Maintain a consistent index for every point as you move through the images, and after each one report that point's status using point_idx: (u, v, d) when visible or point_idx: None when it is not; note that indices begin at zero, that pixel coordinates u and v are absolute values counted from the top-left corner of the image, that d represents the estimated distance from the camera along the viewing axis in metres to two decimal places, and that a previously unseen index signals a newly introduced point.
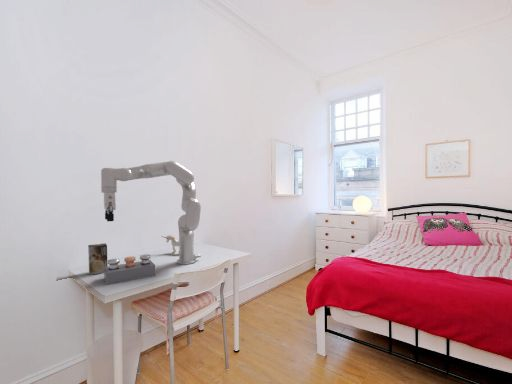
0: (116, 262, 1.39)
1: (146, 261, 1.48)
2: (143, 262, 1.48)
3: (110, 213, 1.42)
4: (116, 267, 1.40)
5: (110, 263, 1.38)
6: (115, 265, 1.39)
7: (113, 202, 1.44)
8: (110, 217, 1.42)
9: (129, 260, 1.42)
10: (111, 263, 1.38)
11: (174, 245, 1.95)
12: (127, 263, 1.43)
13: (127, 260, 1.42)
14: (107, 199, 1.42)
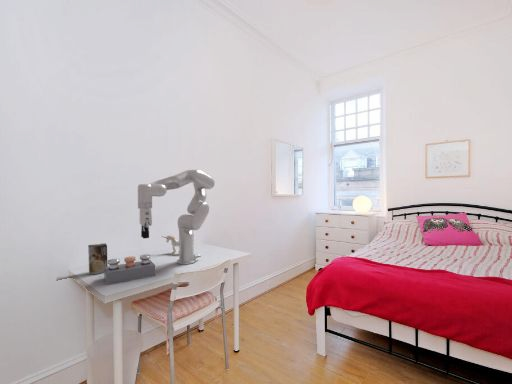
0: (116, 262, 1.39)
1: (146, 261, 1.48)
2: (143, 262, 1.48)
3: (146, 231, 1.47)
4: (116, 267, 1.40)
5: (110, 263, 1.38)
6: (115, 265, 1.39)
7: (150, 218, 1.46)
8: (146, 234, 1.47)
9: (129, 260, 1.42)
10: (111, 263, 1.38)
11: (174, 245, 1.95)
12: (127, 263, 1.43)
13: (127, 260, 1.42)
14: (144, 215, 1.44)
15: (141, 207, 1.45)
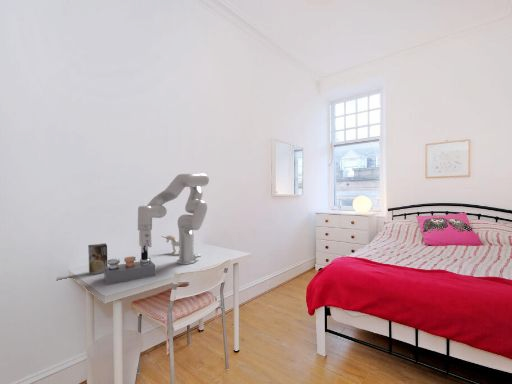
0: (116, 262, 1.39)
1: (146, 264, 1.48)
2: None
3: None
4: (116, 267, 1.40)
5: (110, 263, 1.38)
6: (115, 265, 1.39)
7: (149, 240, 1.46)
8: (145, 255, 1.48)
9: (129, 260, 1.42)
10: (111, 263, 1.38)
11: (174, 245, 1.95)
12: (127, 263, 1.43)
13: (127, 260, 1.42)
14: (144, 237, 1.45)
15: (141, 229, 1.45)
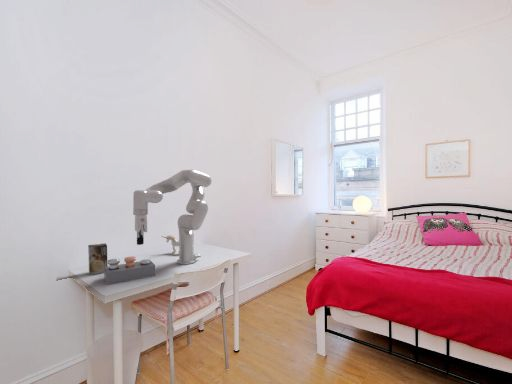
0: (116, 262, 1.39)
1: None
2: None
3: (140, 237, 1.46)
4: (116, 267, 1.40)
5: (110, 263, 1.38)
6: (115, 265, 1.39)
7: (145, 224, 1.45)
8: (140, 241, 1.47)
9: (129, 260, 1.42)
10: (111, 263, 1.38)
11: (174, 245, 1.95)
12: (127, 263, 1.43)
13: (127, 260, 1.42)
14: (139, 222, 1.43)
15: (136, 214, 1.44)
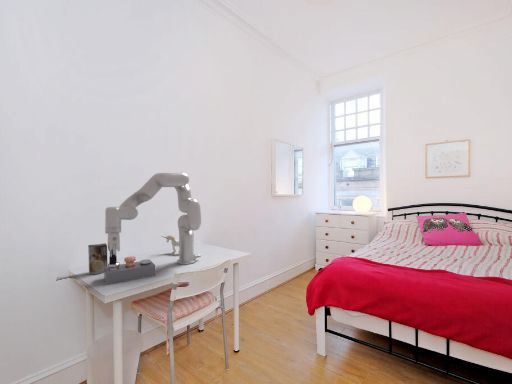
0: (116, 265, 1.39)
1: None
2: None
3: None
4: None
5: (110, 266, 1.38)
6: (115, 268, 1.39)
7: (118, 243, 1.37)
8: (113, 260, 1.39)
9: (129, 260, 1.42)
10: (111, 266, 1.38)
11: (174, 245, 1.95)
12: (127, 263, 1.43)
13: (127, 260, 1.42)
14: (111, 241, 1.35)
15: (108, 232, 1.36)
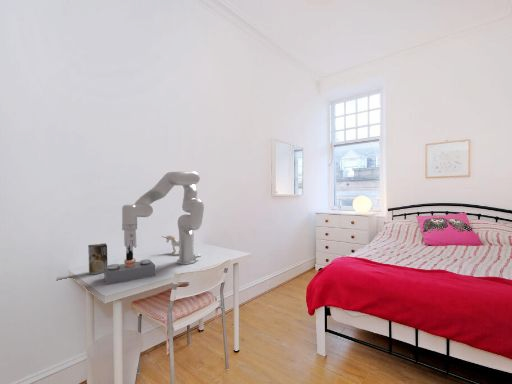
0: (116, 267, 1.39)
1: None
2: None
3: None
4: None
5: (110, 268, 1.38)
6: None
7: (134, 240, 1.42)
8: (130, 256, 1.44)
9: (129, 262, 1.43)
10: (111, 268, 1.38)
11: (174, 245, 1.95)
12: (127, 265, 1.43)
13: (127, 262, 1.42)
14: (128, 237, 1.40)
15: (125, 229, 1.41)
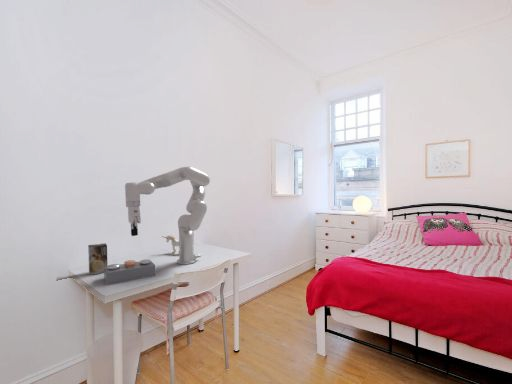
0: (116, 267, 1.39)
1: None
2: None
3: (134, 229, 1.49)
4: None
5: (110, 268, 1.38)
6: None
7: (138, 216, 1.47)
8: (134, 232, 1.49)
9: (129, 264, 1.43)
10: (111, 268, 1.38)
11: (174, 245, 1.95)
12: (127, 267, 1.43)
13: (127, 264, 1.42)
14: (133, 213, 1.45)
15: (129, 205, 1.46)
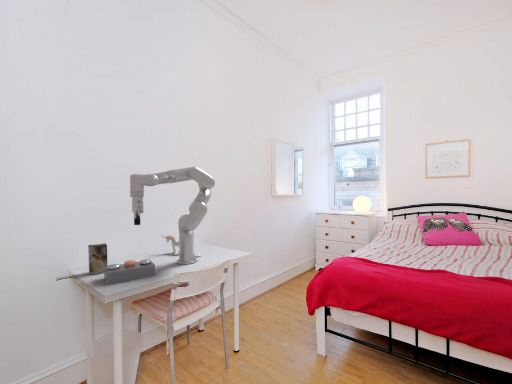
0: (116, 267, 1.39)
1: None
2: None
3: (137, 218, 1.56)
4: None
5: (110, 268, 1.38)
6: None
7: (141, 206, 1.54)
8: (137, 221, 1.56)
9: (129, 264, 1.43)
10: (111, 268, 1.38)
11: (174, 245, 1.95)
12: (127, 267, 1.43)
13: (127, 264, 1.42)
14: (136, 203, 1.52)
15: (133, 196, 1.53)
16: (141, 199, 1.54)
